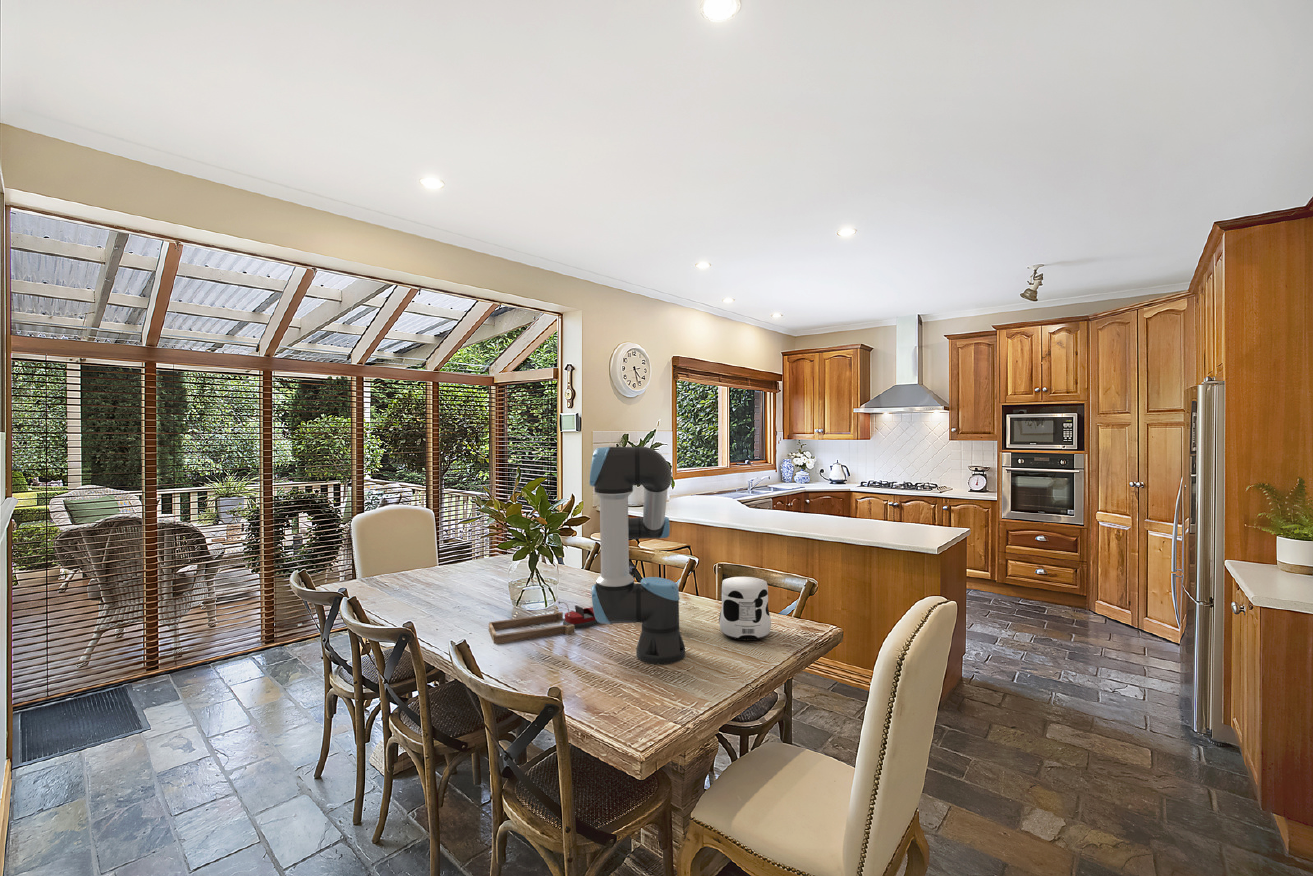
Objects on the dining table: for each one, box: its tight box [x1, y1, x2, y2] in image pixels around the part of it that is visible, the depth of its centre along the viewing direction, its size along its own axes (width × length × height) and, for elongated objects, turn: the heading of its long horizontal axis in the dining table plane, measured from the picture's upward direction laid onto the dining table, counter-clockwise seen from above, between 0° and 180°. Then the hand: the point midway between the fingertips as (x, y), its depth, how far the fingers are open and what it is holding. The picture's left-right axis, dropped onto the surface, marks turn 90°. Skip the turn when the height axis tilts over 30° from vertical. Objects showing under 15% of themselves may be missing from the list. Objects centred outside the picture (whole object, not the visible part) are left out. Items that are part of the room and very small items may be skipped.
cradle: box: [488, 611, 576, 645], centre depth 201 cm, size 19×27×2 cm
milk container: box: [718, 576, 772, 641], centre depth 194 cm, size 17×17×18 cm
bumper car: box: [557, 600, 602, 630], centre depth 209 cm, size 10×20×10 cm, turn 130°
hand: (619, 613), depth 214 cm, fingers closed
